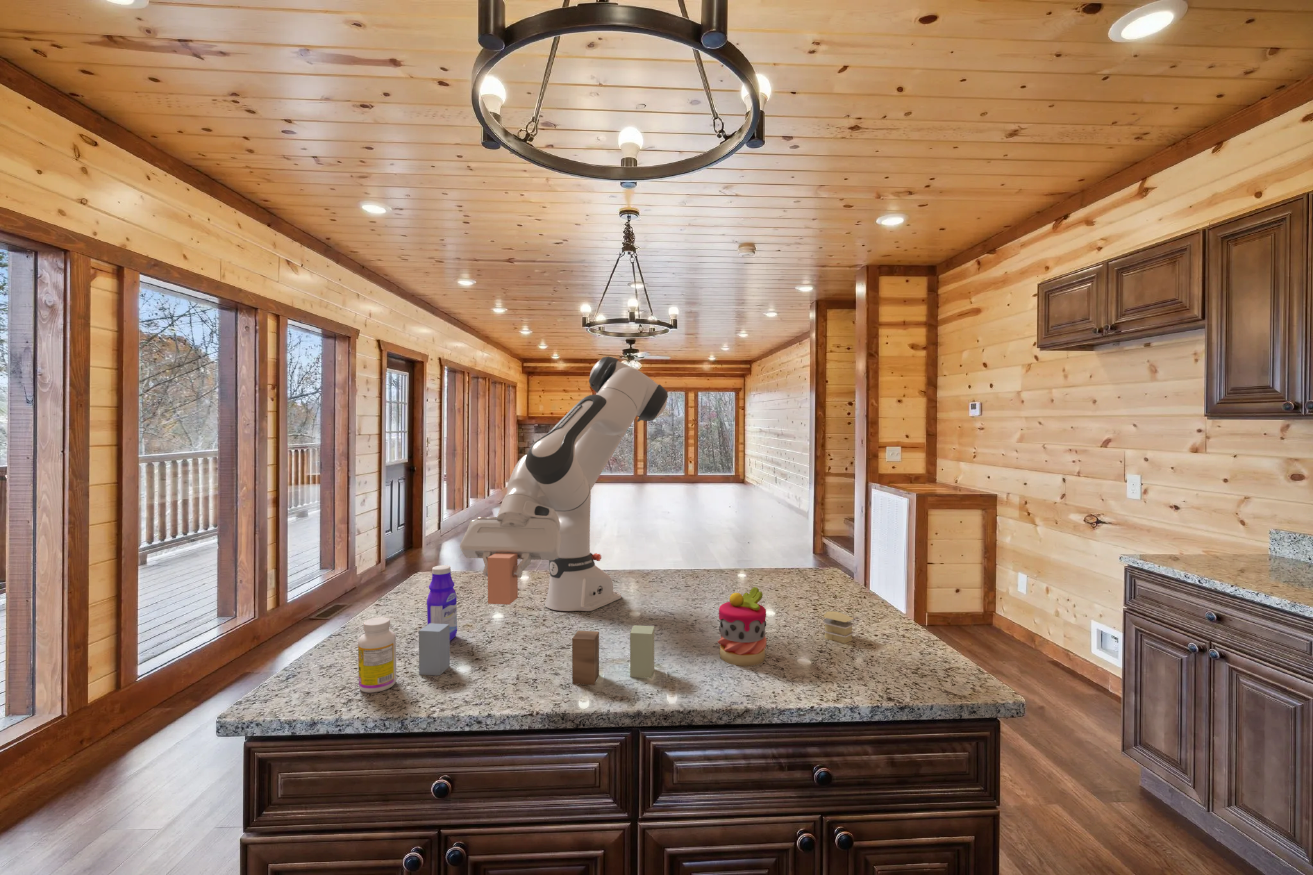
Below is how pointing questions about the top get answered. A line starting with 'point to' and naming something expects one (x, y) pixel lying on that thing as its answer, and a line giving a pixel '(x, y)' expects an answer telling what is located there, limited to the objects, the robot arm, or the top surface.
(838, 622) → the pale yellow layered block
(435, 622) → the bottle
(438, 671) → the slate block
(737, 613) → the cake
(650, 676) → the sage block
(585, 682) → the walnut block
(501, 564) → the terracotta block
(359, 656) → the supplement bottle
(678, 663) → the top surface
